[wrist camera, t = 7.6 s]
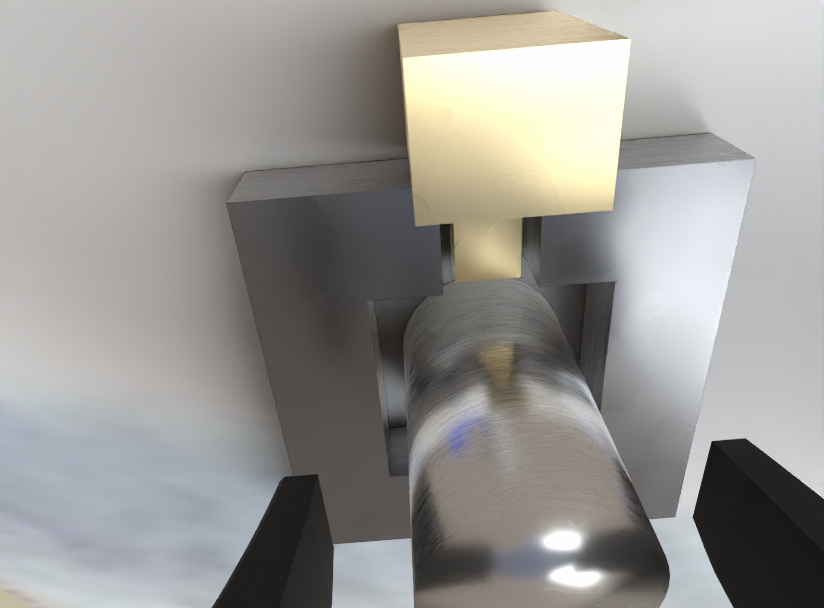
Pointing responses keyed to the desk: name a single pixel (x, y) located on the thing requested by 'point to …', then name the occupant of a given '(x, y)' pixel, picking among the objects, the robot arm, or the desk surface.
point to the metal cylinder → (515, 464)
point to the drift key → (509, 127)
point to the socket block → (422, 276)
